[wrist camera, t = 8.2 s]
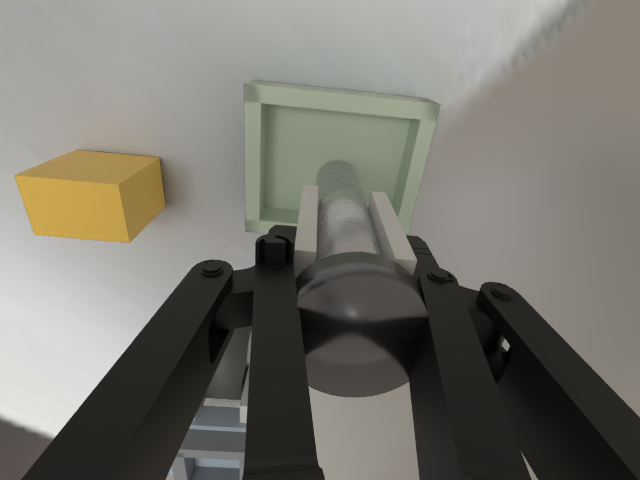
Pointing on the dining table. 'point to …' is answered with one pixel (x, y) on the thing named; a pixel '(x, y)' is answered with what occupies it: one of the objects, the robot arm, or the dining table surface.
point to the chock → (93, 195)
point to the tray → (330, 146)
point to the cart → (219, 420)
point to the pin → (355, 298)
